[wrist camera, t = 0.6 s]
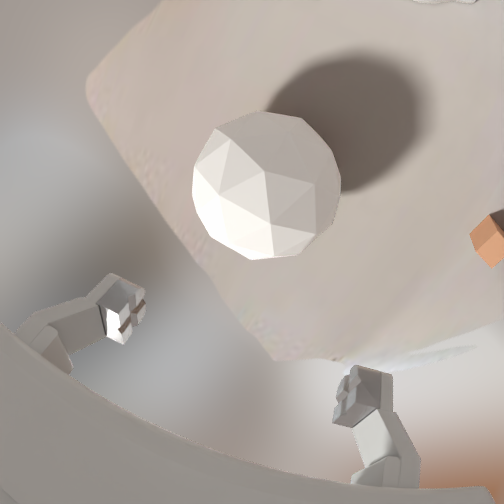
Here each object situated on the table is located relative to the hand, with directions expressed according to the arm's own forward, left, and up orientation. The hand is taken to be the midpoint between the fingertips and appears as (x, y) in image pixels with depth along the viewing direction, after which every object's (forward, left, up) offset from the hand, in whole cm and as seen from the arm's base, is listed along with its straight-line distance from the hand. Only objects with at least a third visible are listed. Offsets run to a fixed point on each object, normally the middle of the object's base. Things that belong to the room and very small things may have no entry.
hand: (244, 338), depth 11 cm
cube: (0, +30, -38) cm, 49 cm away
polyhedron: (+12, -4, -38) cm, 40 cm away
